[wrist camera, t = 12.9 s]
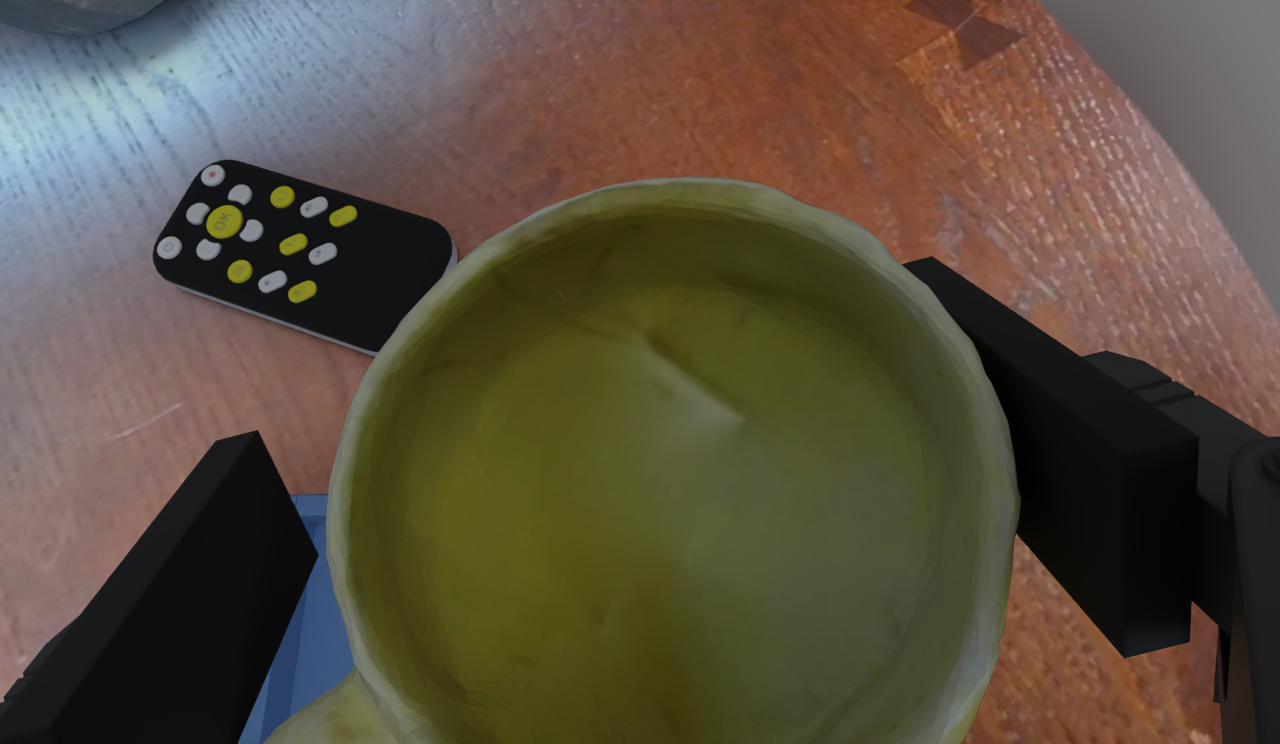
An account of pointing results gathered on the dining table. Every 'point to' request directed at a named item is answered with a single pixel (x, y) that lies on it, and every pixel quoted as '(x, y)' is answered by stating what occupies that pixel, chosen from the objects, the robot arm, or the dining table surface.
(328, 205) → the remote control
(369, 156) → the dining table surface
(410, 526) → the mug
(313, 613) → the blue tray
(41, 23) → the grey stone bowl
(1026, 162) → the dining table surface
